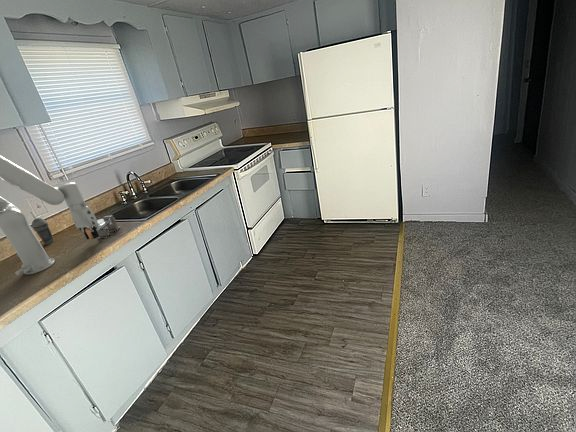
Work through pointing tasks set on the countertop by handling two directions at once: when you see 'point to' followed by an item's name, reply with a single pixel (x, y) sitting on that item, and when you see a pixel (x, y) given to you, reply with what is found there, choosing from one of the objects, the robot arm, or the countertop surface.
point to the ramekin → (101, 223)
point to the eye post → (111, 224)
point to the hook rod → (97, 228)
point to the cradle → (102, 233)
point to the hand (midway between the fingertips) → (93, 237)
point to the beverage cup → (42, 230)
